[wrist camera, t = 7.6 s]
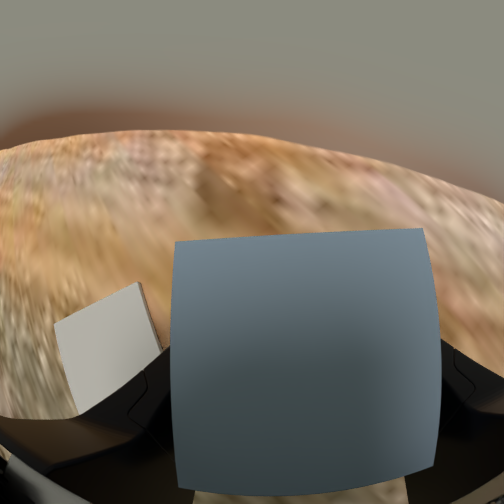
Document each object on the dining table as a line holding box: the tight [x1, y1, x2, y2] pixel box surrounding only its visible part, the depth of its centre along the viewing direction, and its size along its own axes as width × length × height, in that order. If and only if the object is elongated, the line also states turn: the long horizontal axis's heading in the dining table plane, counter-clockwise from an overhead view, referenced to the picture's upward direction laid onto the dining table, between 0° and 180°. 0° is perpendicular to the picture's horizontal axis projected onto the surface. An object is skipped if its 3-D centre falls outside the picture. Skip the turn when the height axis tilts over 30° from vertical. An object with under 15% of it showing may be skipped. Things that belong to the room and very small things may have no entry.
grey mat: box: [54, 282, 163, 415], centre depth 17 cm, size 10×10×1 cm
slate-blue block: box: [170, 228, 441, 496], centre depth 10 cm, size 5×5×12 cm
